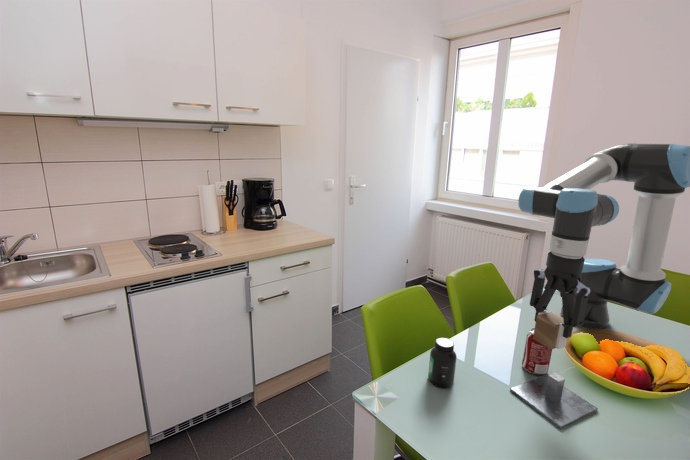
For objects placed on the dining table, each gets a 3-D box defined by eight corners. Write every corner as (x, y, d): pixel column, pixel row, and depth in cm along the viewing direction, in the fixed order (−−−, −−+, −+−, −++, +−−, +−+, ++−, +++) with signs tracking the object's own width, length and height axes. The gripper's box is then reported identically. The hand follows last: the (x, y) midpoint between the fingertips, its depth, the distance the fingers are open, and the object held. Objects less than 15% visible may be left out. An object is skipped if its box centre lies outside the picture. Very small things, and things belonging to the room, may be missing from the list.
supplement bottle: (426, 385, 95) (430, 346, 92) (429, 370, 101) (433, 333, 98) (452, 392, 93) (457, 351, 90) (454, 376, 99) (458, 338, 96)
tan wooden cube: (546, 334, 93) (551, 312, 92) (565, 345, 89) (570, 321, 87) (532, 338, 91) (537, 315, 90) (551, 349, 87) (556, 325, 85)
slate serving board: (545, 377, 100) (549, 355, 98) (597, 411, 88) (603, 386, 86) (509, 390, 94) (513, 367, 92) (560, 429, 82) (565, 403, 80)
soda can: (551, 378, 99) (558, 340, 96) (525, 375, 100) (531, 337, 97) (543, 364, 106) (549, 328, 102) (518, 360, 107) (524, 325, 104)
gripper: (522, 244, 91) (509, 326, 96) (595, 268, 75) (574, 365, 80) (543, 242, 94) (529, 321, 99) (617, 264, 77) (595, 357, 83)
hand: (549, 340), depth 90 cm, fingers closed on tan wooden cube, 5 cm apart
